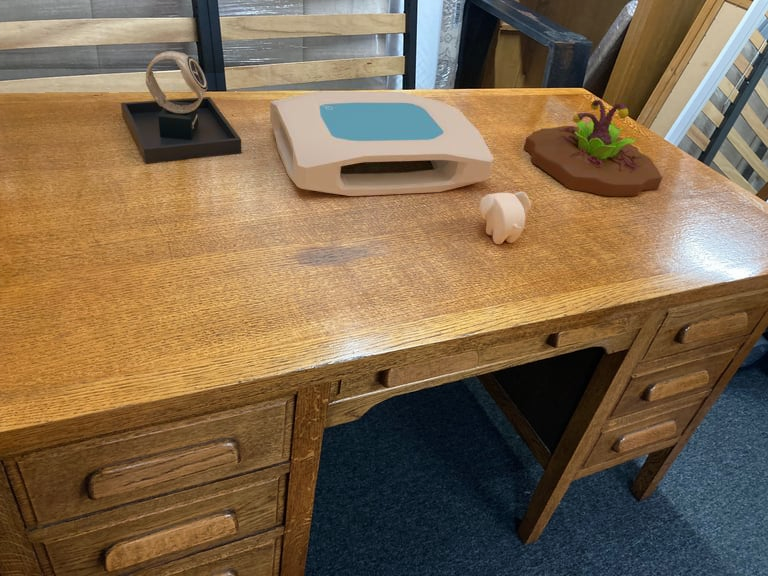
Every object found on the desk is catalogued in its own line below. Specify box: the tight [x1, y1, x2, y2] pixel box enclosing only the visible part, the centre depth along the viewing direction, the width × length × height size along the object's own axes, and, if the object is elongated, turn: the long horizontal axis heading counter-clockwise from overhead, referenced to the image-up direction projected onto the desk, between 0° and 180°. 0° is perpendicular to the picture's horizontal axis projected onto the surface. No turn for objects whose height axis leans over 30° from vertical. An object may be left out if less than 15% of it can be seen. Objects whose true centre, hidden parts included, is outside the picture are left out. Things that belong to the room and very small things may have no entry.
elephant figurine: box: [478, 190, 532, 245], centre depth 79 cm, size 7×8×6 cm
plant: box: [523, 99, 663, 197], centre depth 98 cm, size 20×20×11 cm
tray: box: [120, 96, 242, 164], centre depth 91 cm, size 15×13×2 cm
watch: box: [145, 50, 208, 140], centre depth 87 cm, size 6×8×11 cm
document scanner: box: [269, 90, 495, 197], centre depth 91 cm, size 21×28×6 cm
